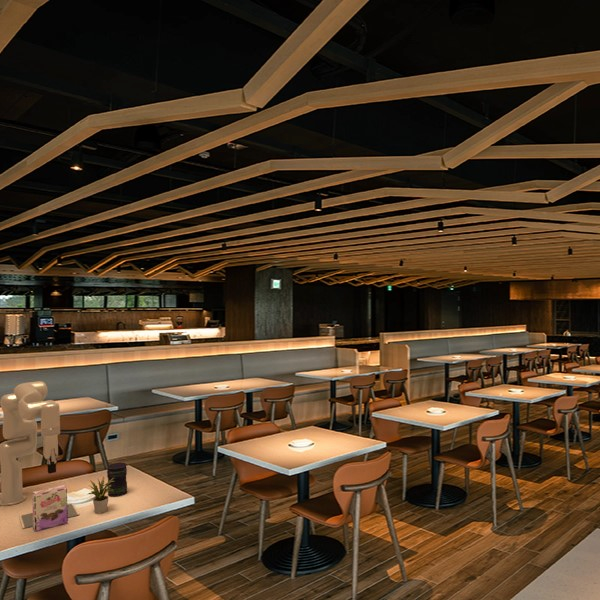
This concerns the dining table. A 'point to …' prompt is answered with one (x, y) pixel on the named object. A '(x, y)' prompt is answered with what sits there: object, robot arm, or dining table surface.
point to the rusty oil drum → (117, 479)
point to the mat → (28, 518)
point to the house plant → (100, 496)
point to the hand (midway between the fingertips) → (51, 472)
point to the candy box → (50, 508)
